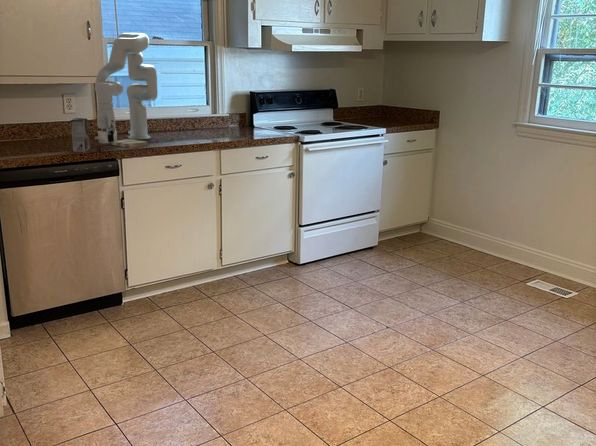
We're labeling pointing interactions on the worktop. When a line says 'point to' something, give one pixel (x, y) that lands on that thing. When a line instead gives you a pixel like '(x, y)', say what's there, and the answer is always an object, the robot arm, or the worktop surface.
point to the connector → (105, 136)
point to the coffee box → (80, 135)
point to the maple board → (130, 143)
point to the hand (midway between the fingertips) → (108, 140)
